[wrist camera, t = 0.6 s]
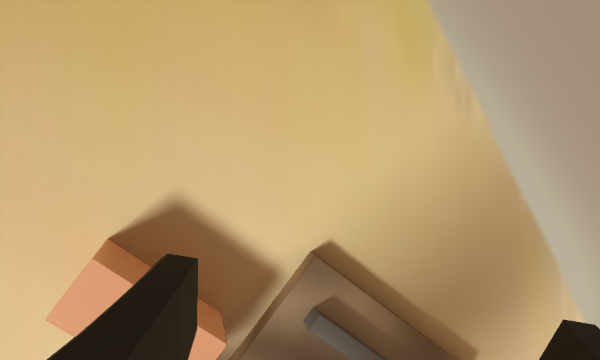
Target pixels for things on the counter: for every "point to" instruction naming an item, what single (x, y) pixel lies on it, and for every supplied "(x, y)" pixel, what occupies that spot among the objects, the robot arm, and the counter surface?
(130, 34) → the counter surface
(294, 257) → the counter surface
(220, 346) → the terracotta cardboard box
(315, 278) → the display stand
